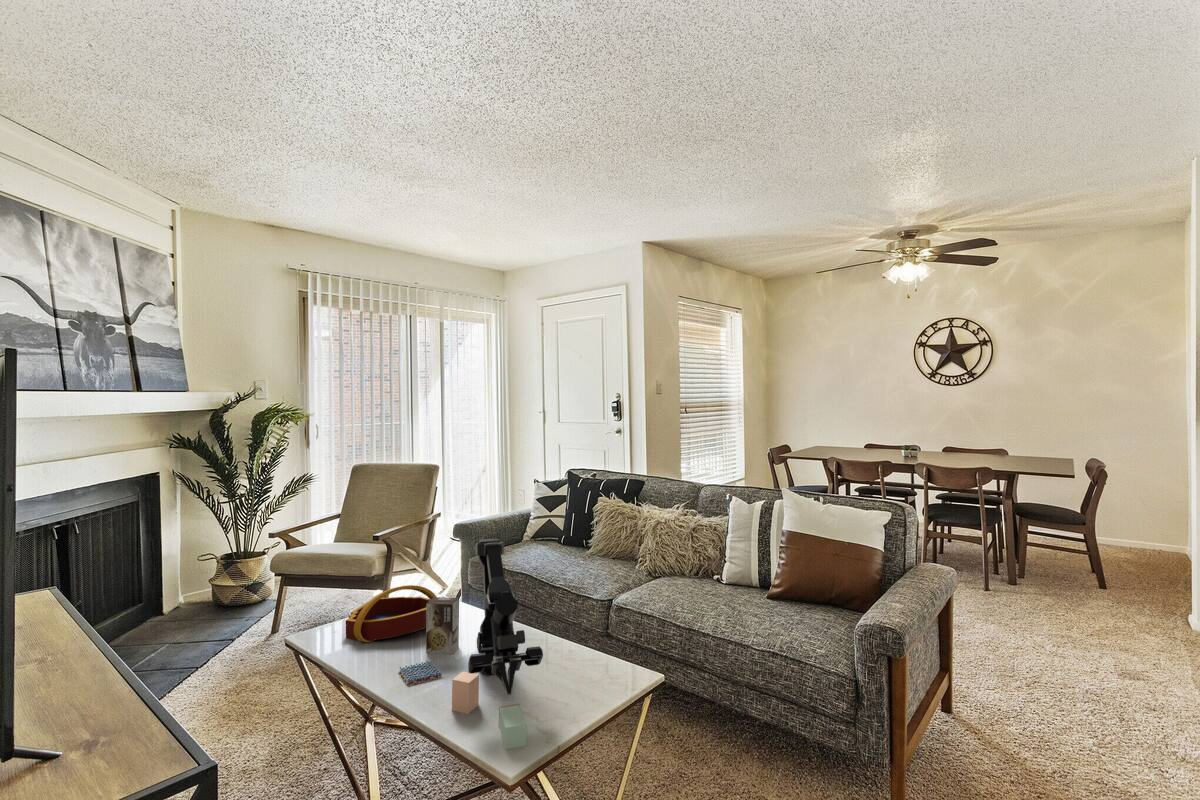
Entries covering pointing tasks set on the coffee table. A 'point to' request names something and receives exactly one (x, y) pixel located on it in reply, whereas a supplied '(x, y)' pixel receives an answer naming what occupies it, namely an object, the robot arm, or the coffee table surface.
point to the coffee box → (442, 625)
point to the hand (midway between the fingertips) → (509, 694)
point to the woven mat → (420, 673)
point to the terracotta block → (465, 692)
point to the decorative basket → (389, 615)
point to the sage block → (512, 726)
